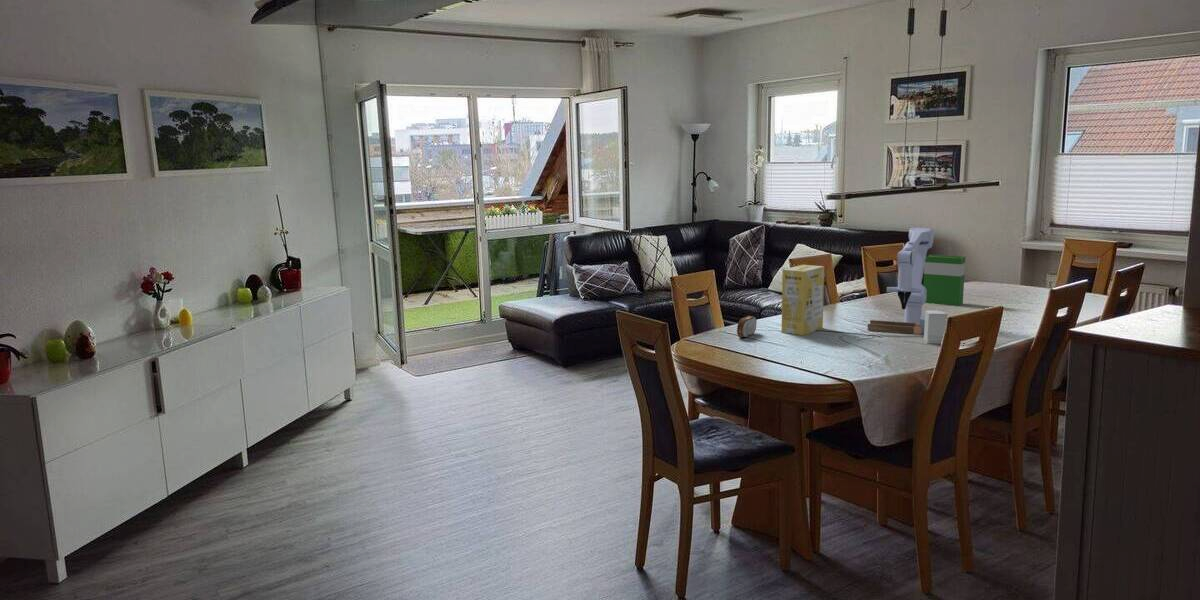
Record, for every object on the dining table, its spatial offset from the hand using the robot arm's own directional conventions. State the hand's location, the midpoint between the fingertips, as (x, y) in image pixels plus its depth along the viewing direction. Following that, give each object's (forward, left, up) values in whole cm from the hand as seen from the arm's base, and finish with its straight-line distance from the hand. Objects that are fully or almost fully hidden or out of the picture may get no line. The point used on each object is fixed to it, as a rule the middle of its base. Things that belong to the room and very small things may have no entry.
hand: (903, 308), depth 353 cm
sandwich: (+31, -61, -10) cm, 69 cm away
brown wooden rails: (0, -3, -10) cm, 10 cm away
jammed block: (0, +10, -10) cm, 14 cm away
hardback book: (-72, +13, -10) cm, 74 cm away
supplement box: (+16, +14, -10) cm, 23 cm away
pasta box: (+12, -41, -10) cm, 44 cm away
